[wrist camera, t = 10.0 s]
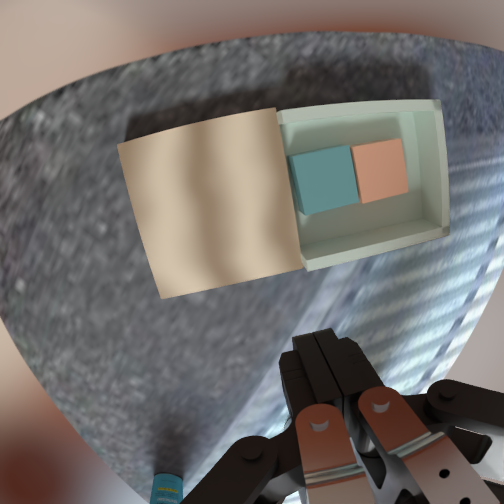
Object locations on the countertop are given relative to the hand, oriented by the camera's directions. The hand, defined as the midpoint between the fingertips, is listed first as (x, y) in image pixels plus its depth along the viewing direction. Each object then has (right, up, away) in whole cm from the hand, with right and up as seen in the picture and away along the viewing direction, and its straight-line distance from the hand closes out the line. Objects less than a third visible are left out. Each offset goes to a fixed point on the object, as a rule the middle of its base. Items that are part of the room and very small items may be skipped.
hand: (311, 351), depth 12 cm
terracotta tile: (+9, +12, +16) cm, 21 cm away
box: (+8, +11, +16) cm, 21 cm away
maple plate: (-6, +8, +16) cm, 19 cm away
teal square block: (+4, +10, +15) cm, 19 cm away
